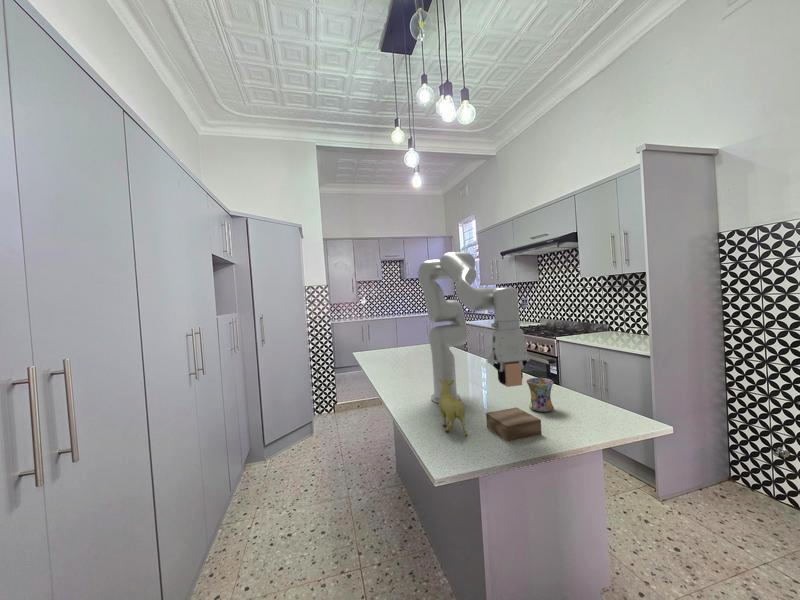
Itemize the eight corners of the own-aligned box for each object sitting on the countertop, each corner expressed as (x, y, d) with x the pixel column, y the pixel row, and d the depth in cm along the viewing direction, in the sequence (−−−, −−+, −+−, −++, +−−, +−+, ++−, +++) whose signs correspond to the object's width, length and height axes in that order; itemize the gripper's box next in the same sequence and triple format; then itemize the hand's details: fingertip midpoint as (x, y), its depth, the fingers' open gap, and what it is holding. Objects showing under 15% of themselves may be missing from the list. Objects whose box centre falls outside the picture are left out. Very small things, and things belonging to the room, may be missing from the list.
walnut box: (486, 427, 109) (486, 413, 109) (517, 421, 113) (516, 407, 113) (508, 442, 98) (507, 426, 98) (541, 435, 101) (540, 419, 101)
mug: (560, 412, 117) (558, 383, 117) (534, 414, 117) (533, 385, 117) (544, 401, 129) (542, 375, 129) (521, 403, 129) (519, 376, 129)
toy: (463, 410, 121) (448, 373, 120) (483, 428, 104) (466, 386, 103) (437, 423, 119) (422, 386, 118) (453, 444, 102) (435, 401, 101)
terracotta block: (499, 382, 107) (498, 361, 107) (514, 381, 108) (512, 360, 108) (507, 386, 102) (506, 364, 102) (522, 385, 103) (520, 363, 103)
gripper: (487, 329, 99) (491, 388, 100) (538, 324, 102) (541, 382, 102) (477, 326, 107) (480, 382, 107) (525, 322, 110) (528, 376, 110)
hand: (510, 381), depth 105 cm, fingers closed on terracotta block, 5 cm apart
